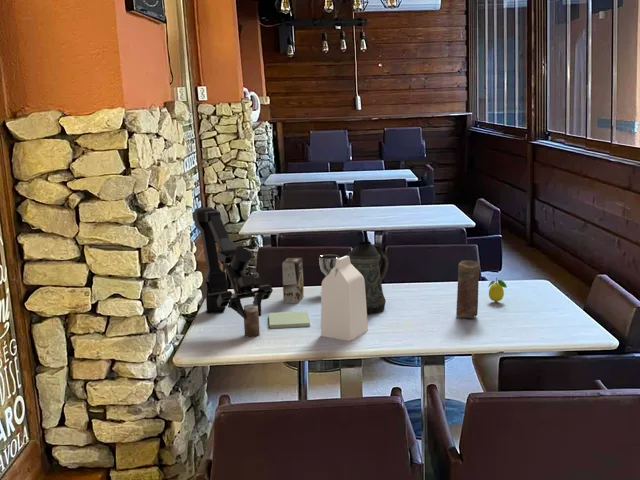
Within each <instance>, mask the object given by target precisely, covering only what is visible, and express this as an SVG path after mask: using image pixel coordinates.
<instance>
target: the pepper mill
mask: <svg viewBox="0 0 640 480" xmlns="http://www.w3.org/2000/svg"><path fill="white" fill-rule="evenodd" d="M243 309H244V311H245V314H246V319H244V318H243V326H244V328H243V329H244V337H247V338H257V337H259V336H260V335H261V334H260V332H261V331H260V316H259V310H258V305H254V304H253V303H252V304H246V305H244V306H243Z"/></svg>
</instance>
